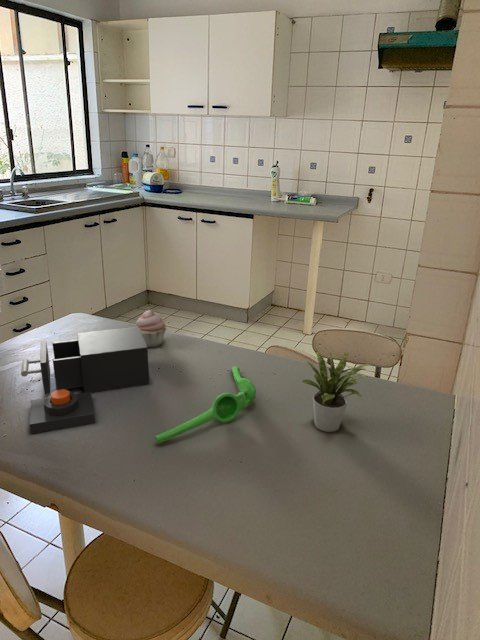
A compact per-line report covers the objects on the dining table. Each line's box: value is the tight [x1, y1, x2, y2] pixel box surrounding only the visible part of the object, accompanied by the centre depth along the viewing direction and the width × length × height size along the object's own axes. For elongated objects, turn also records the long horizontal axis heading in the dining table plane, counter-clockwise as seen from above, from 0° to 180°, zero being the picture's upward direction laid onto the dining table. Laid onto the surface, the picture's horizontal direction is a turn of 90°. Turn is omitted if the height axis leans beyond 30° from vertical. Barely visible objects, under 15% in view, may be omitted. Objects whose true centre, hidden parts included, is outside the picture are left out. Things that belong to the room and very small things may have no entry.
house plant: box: [300, 349, 372, 433], centre depth 92 cm, size 14×14×16 cm
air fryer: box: [76, 326, 150, 394], centre depth 110 cm, size 15×13×10 cm
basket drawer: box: [20, 338, 83, 396], centre depth 106 cm, size 18×11×8 cm, turn 111°
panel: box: [28, 391, 96, 435], centre depth 95 cm, size 12×9×4 cm
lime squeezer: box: [154, 366, 257, 444], centre depth 99 cm, size 34×12×6 cm, turn 154°
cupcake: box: [133, 309, 168, 348], centre depth 128 cm, size 9×9×10 cm
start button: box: [50, 389, 71, 405], centre depth 94 cm, size 4×4×2 cm
